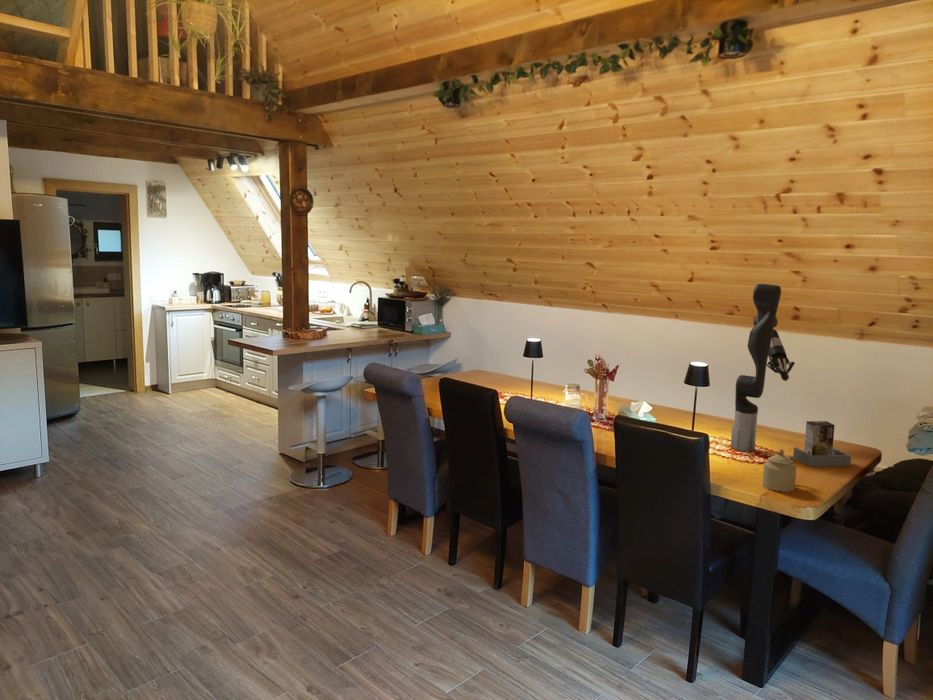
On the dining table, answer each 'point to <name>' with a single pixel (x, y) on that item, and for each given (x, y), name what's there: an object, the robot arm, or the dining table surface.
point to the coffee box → (819, 438)
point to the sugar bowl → (779, 473)
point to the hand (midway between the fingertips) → (786, 379)
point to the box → (823, 458)
